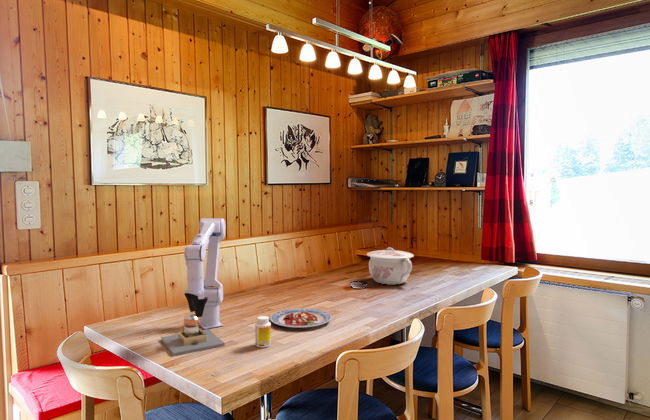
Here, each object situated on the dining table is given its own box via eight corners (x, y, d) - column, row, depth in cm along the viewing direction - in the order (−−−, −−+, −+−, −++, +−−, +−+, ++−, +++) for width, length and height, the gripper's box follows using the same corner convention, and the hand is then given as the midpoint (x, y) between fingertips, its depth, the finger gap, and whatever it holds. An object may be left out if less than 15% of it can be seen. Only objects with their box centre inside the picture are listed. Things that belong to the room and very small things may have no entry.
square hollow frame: (177, 337, 166) (176, 331, 166) (199, 333, 171) (198, 327, 170) (184, 346, 157) (184, 340, 157) (207, 342, 162) (207, 335, 161)
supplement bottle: (274, 345, 162) (274, 317, 161) (262, 349, 158) (261, 320, 157) (264, 341, 166) (264, 314, 165) (252, 345, 162) (252, 317, 161)
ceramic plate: (262, 316, 196) (262, 310, 196) (317, 310, 206) (317, 303, 206) (280, 335, 172) (280, 328, 172) (341, 327, 183) (341, 320, 182)
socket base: (161, 340, 167) (161, 337, 167) (208, 331, 176) (208, 328, 176) (173, 356, 152) (173, 353, 151) (224, 345, 161) (224, 343, 161)
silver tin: (196, 336, 167) (195, 313, 167) (200, 340, 163) (200, 316, 163) (182, 339, 164) (182, 315, 164) (187, 343, 160) (186, 319, 160)
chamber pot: (367, 276, 277) (367, 243, 275) (412, 278, 273) (412, 244, 272) (364, 287, 249) (365, 250, 248) (415, 289, 245) (415, 251, 244)
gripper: (179, 275, 168) (179, 310, 169) (189, 282, 155) (190, 321, 156) (198, 273, 171) (198, 307, 172) (209, 280, 159) (210, 317, 160)
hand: (196, 314), depth 165 cm, fingers open, 7 cm apart
